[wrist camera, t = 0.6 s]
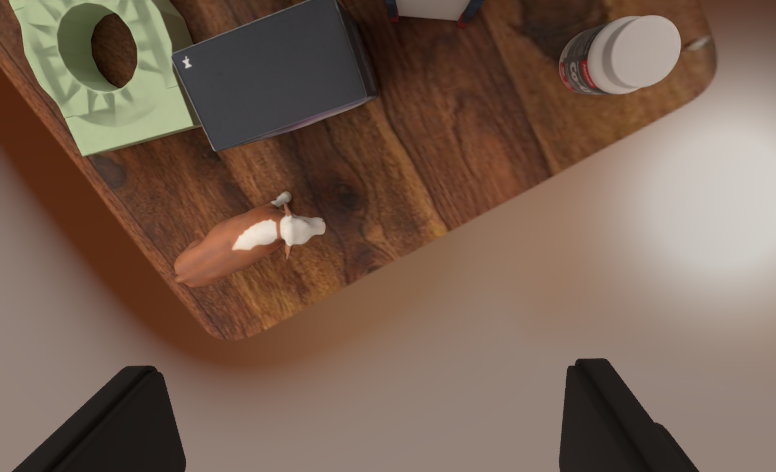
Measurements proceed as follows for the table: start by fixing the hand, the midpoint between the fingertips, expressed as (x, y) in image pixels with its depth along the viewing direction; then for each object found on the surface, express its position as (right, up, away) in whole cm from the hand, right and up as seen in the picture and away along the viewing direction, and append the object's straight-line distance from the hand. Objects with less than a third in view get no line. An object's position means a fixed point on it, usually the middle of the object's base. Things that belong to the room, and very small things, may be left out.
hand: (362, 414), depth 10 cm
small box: (-6, +17, +25) cm, 31 cm away
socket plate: (-21, +19, +25) cm, 38 cm away
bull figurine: (-10, +5, +29) cm, 31 cm away
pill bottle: (+16, +18, +23) cm, 34 cm away
